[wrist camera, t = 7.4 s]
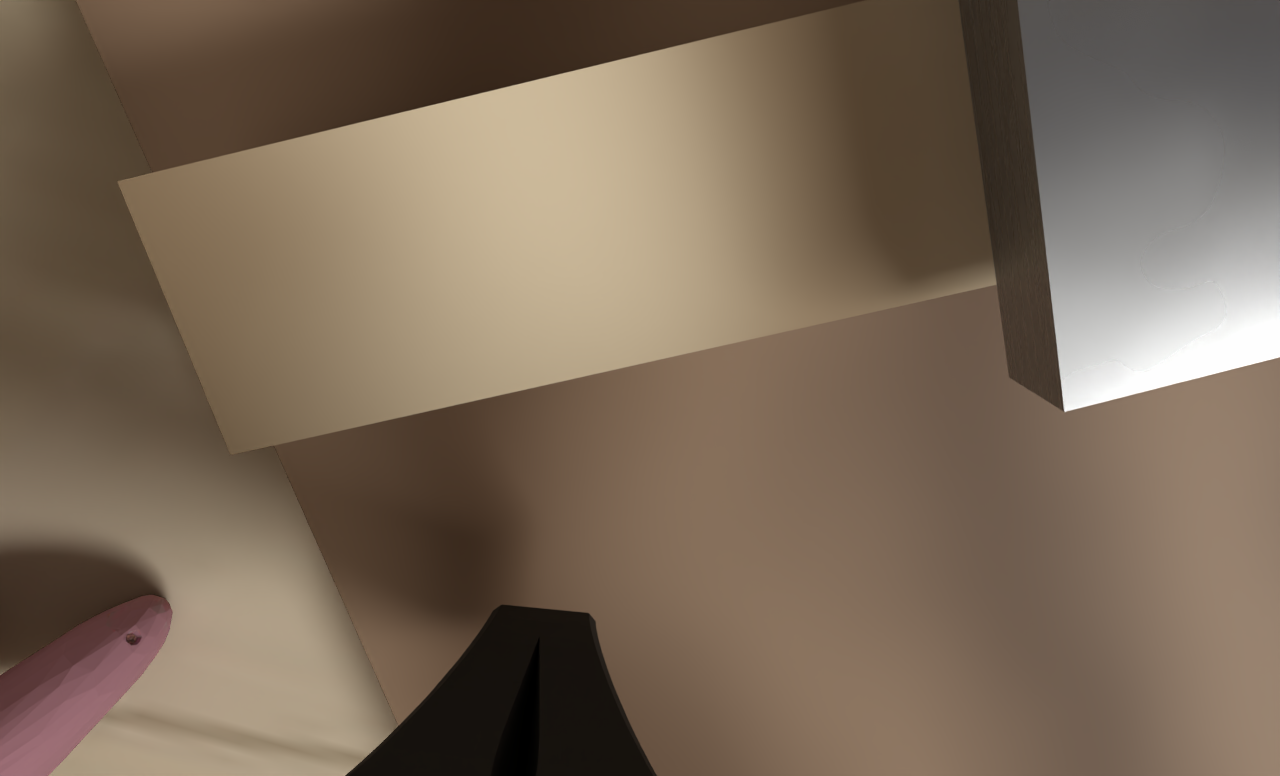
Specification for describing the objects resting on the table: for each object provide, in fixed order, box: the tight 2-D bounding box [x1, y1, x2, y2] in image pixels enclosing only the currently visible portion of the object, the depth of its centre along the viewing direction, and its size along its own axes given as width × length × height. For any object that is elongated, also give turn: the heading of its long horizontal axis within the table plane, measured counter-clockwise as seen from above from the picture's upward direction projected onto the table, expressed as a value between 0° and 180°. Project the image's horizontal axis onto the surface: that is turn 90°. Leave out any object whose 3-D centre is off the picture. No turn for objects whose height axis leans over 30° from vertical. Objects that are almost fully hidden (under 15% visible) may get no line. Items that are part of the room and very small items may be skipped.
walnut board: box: [76, 0, 1280, 776], centre depth 11 cm, size 22×23×1 cm
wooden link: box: [117, 0, 997, 455], centre depth 8 cm, size 18×4×5 cm, turn 103°
